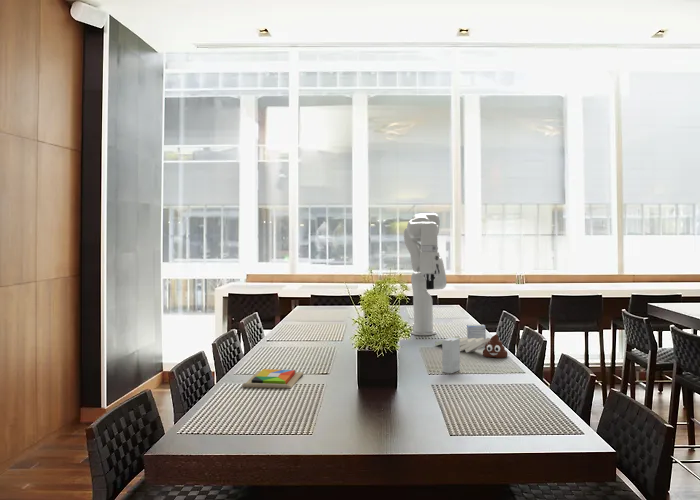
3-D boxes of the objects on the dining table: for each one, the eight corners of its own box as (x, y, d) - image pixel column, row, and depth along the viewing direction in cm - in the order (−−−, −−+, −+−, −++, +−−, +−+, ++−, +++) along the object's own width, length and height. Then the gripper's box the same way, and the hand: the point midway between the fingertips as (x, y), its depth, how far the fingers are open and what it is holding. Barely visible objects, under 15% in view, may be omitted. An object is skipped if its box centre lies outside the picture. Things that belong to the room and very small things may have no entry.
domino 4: (458, 347, 253) (475, 338, 245) (466, 346, 256) (483, 337, 248) (459, 351, 252) (476, 342, 244) (468, 349, 255) (484, 341, 247)
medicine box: (484, 343, 269) (484, 324, 268) (486, 345, 264) (485, 326, 264) (467, 343, 269) (466, 324, 269) (468, 345, 265) (467, 326, 265)
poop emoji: (509, 355, 243) (508, 332, 243) (505, 359, 235) (505, 336, 235) (484, 353, 247) (484, 331, 247) (480, 358, 239) (480, 335, 239)
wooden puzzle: (241, 389, 202) (240, 379, 202) (259, 375, 221) (258, 366, 221) (290, 390, 199) (289, 380, 199) (304, 376, 218) (304, 367, 218)
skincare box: (450, 368, 222) (449, 337, 221) (460, 370, 219) (460, 338, 219) (441, 372, 217) (441, 339, 217) (452, 374, 214) (451, 340, 214)
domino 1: (434, 342, 266) (450, 337, 257) (442, 340, 269) (458, 335, 260) (435, 345, 265) (451, 340, 257) (443, 344, 268) (459, 339, 260)
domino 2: (442, 344, 261) (458, 338, 253) (450, 342, 264) (467, 336, 256) (443, 347, 261) (459, 342, 252) (451, 346, 264) (468, 340, 255)
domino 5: (464, 349, 250) (481, 339, 242) (473, 347, 253) (489, 338, 245) (466, 352, 249) (483, 343, 241) (474, 351, 252) (491, 341, 244)
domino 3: (450, 345, 257) (467, 339, 249) (458, 344, 260) (475, 337, 252) (451, 349, 257) (468, 342, 248) (459, 347, 260) (476, 341, 251)
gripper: (446, 249, 266) (447, 289, 266) (424, 248, 278) (425, 287, 279) (434, 249, 261) (435, 291, 262) (412, 249, 274) (413, 288, 274)
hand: (430, 289), depth 270 cm, fingers closed
